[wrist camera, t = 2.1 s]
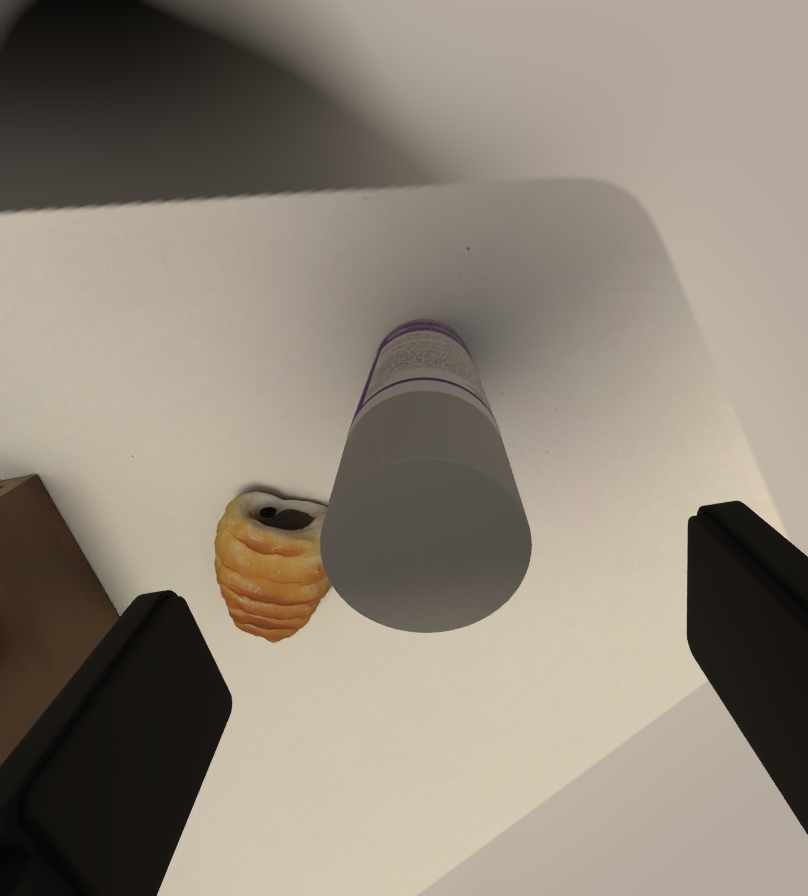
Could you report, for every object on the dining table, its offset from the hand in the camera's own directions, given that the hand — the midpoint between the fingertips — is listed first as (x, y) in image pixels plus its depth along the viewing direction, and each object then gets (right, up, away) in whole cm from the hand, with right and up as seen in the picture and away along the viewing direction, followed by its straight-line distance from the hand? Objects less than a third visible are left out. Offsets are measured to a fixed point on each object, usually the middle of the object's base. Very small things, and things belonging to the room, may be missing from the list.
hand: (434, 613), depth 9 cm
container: (0, +7, +15) cm, 17 cm away
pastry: (-7, -3, +20) cm, 21 cm away
